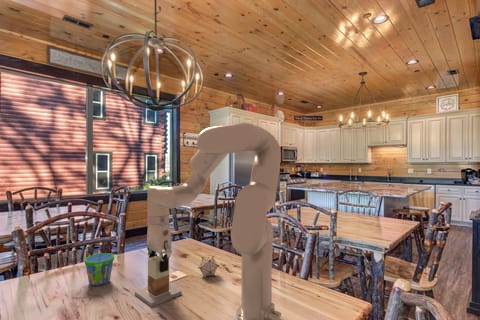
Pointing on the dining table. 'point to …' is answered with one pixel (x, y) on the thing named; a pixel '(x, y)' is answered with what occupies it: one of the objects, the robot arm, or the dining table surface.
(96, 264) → the snack cup
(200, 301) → the dining table surface
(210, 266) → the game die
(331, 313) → the dining table surface
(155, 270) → the sage block
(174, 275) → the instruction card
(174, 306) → the dining table surface
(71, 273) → the dining table surface
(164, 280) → the walnut block
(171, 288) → the plate
